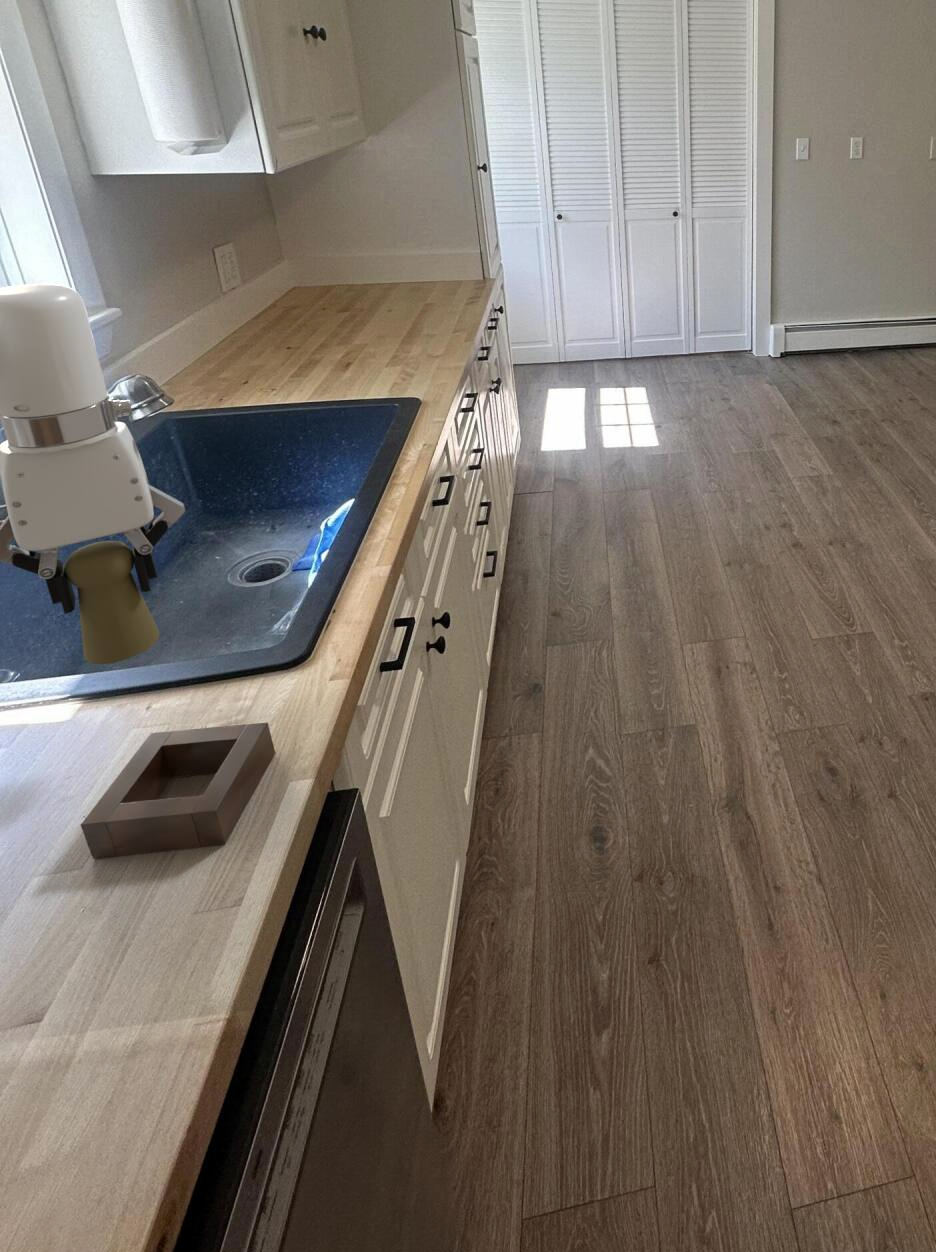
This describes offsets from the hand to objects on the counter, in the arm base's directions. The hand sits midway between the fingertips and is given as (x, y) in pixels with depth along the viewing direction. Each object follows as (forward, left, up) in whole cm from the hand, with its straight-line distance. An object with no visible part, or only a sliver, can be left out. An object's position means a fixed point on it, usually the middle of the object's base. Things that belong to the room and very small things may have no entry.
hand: (108, 594), depth 77 cm
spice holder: (+8, -10, -17) cm, 22 cm away
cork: (0, 0, -6) cm, 6 cm away
